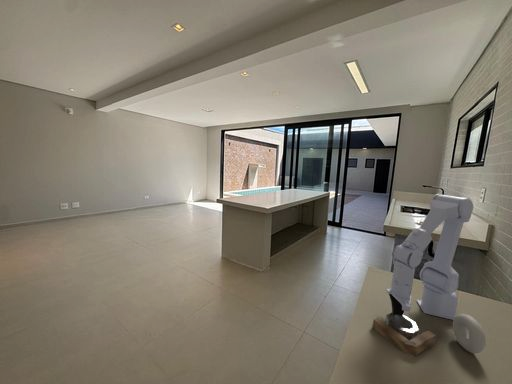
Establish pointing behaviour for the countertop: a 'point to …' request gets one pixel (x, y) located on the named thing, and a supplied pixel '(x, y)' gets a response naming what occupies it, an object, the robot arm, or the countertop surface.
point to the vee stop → (400, 341)
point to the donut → (476, 333)
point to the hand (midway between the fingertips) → (396, 316)
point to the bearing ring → (401, 320)
